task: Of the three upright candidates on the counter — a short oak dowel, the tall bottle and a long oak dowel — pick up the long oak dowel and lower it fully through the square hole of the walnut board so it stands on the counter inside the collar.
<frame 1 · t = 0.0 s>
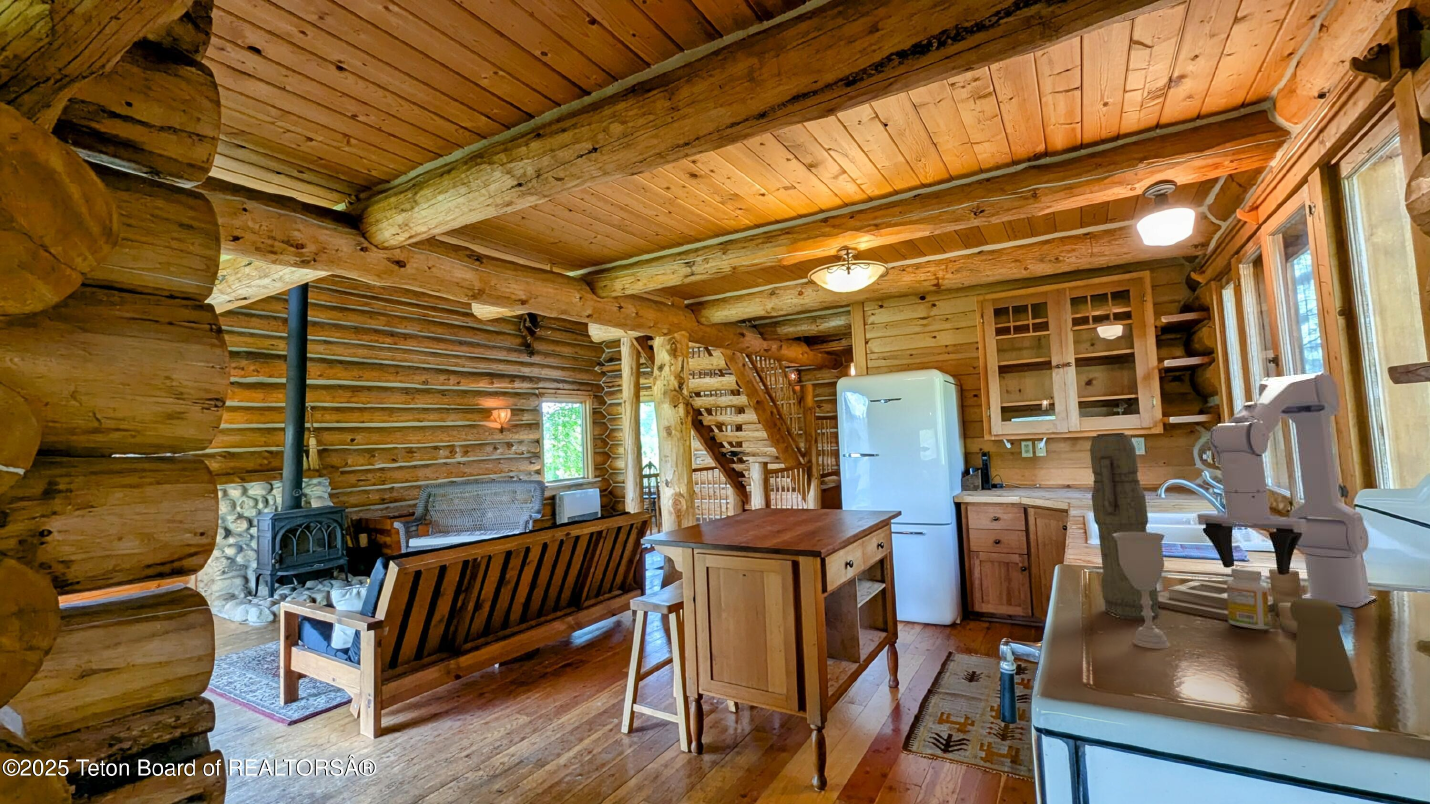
hand: (1255, 570, 103), 10 cm above the counter, tool pointing down, fingers open, 7 cm apart
olive tapered capped post: (1325, 682, 82), on the counter
collar board: (1212, 604, 117), on the counter
chalice: (1151, 644, 100), on the counter
supplement bottle: (1248, 627, 105), on the counter, touching collar board
short oak dowel: (1297, 629, 101), on the counter
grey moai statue: (1132, 614, 116), on the counter
long oak dowel: (1289, 615, 108), on the counter
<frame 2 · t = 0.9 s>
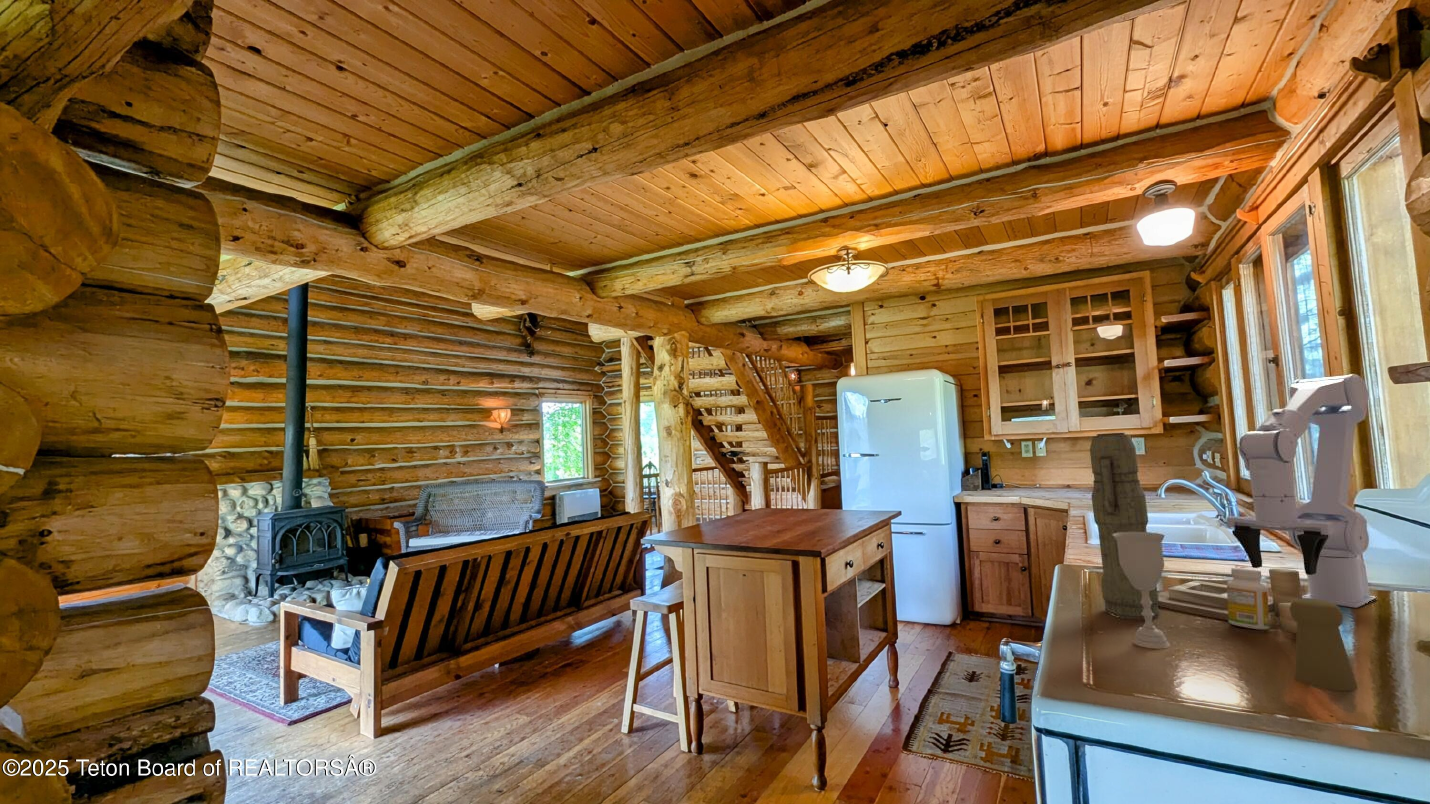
hand: (1283, 570, 109), 8 cm above the counter, tool pointing down, fingers open, 7 cm apart
nothing on the counter moved.
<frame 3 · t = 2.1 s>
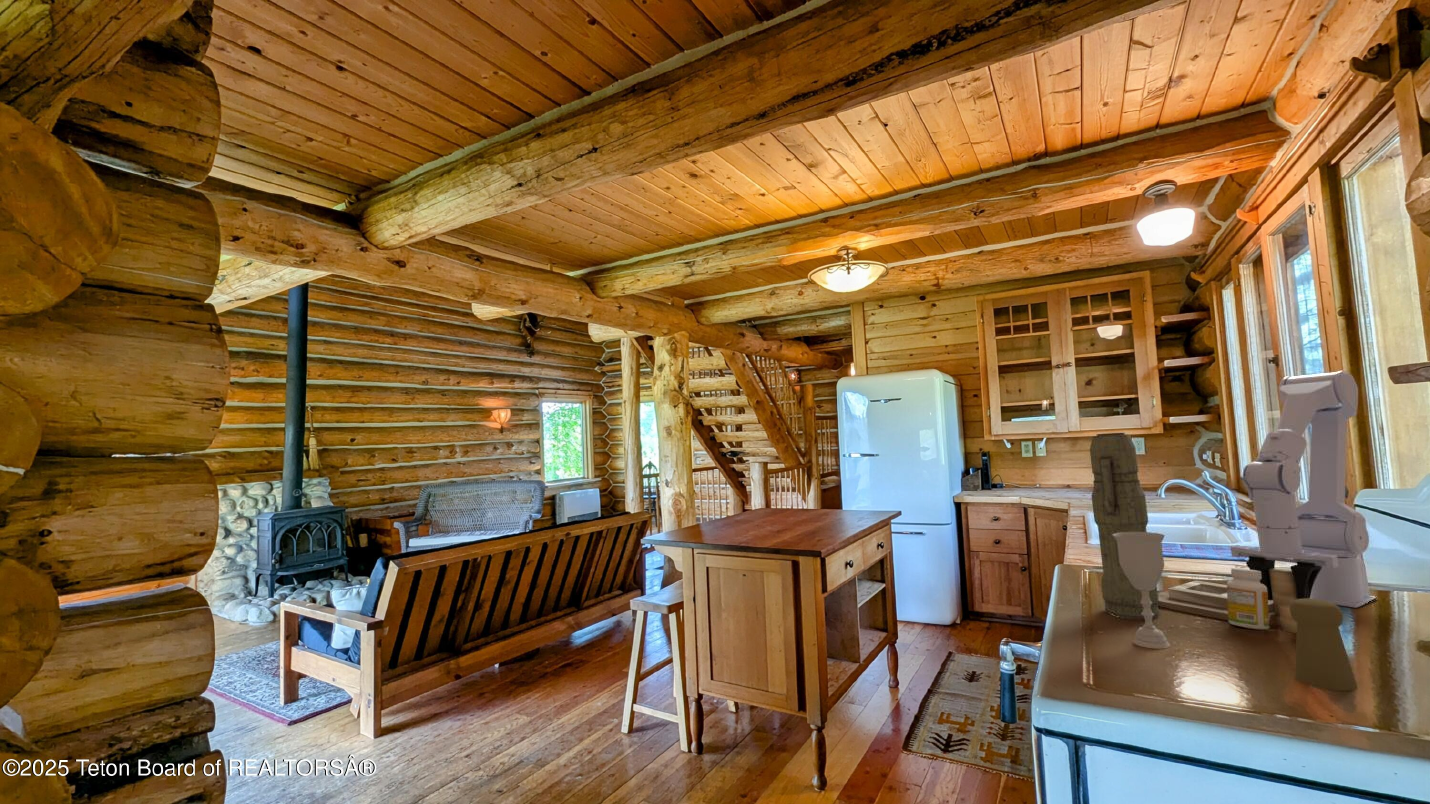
hand: (1287, 601, 109), 2 cm above the counter, tool pointing down, fingers closed on long oak dowel, 4 cm apart
long oak dowel: (1289, 615, 108), on the counter, touching gripper
everything else where it was.
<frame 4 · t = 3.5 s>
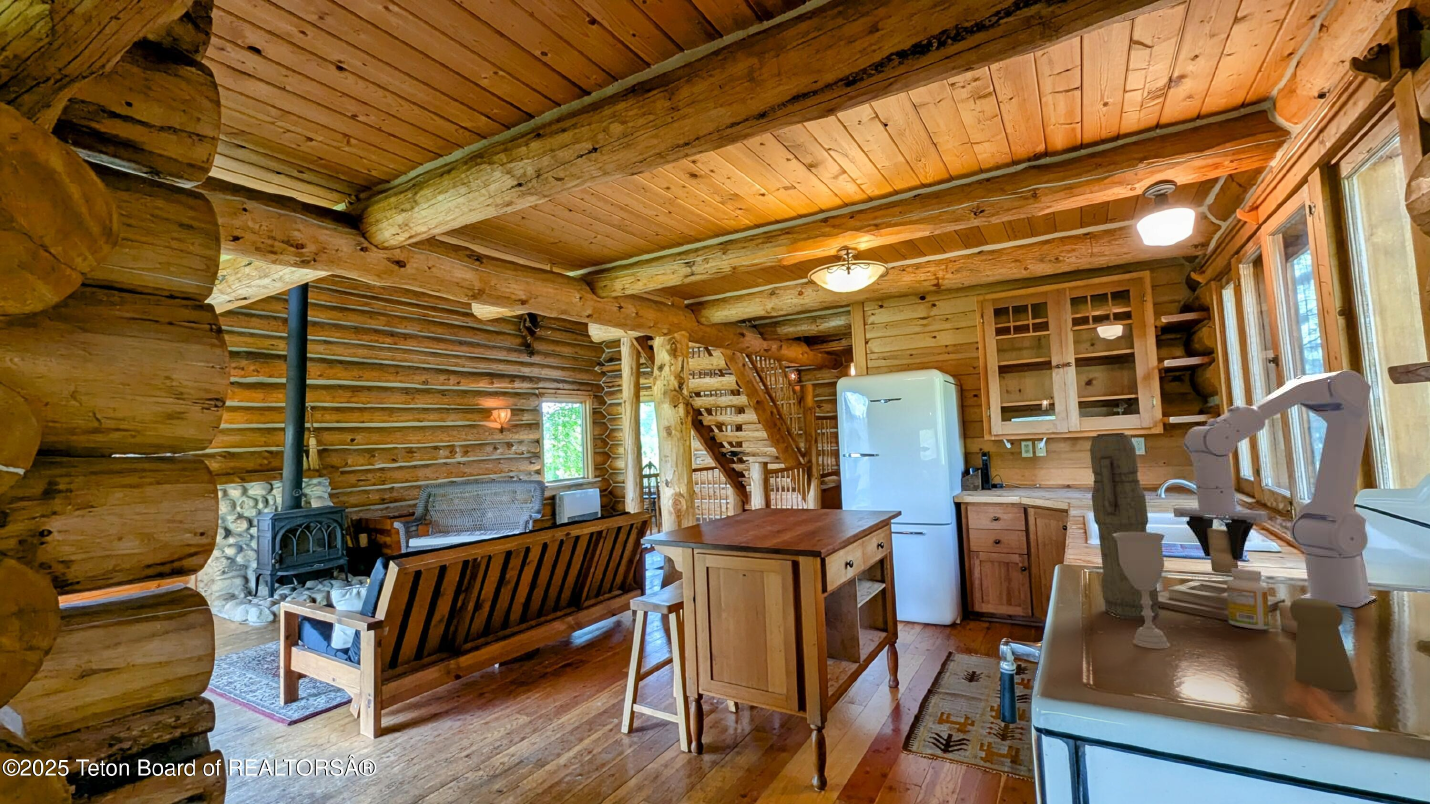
hand: (1223, 557, 116), 9 cm above the counter, tool pointing down, fingers closed on long oak dowel, 4 cm apart
long oak dowel: (1225, 571, 116), point 7 cm above the counter, touching gripper
everything else where it was.
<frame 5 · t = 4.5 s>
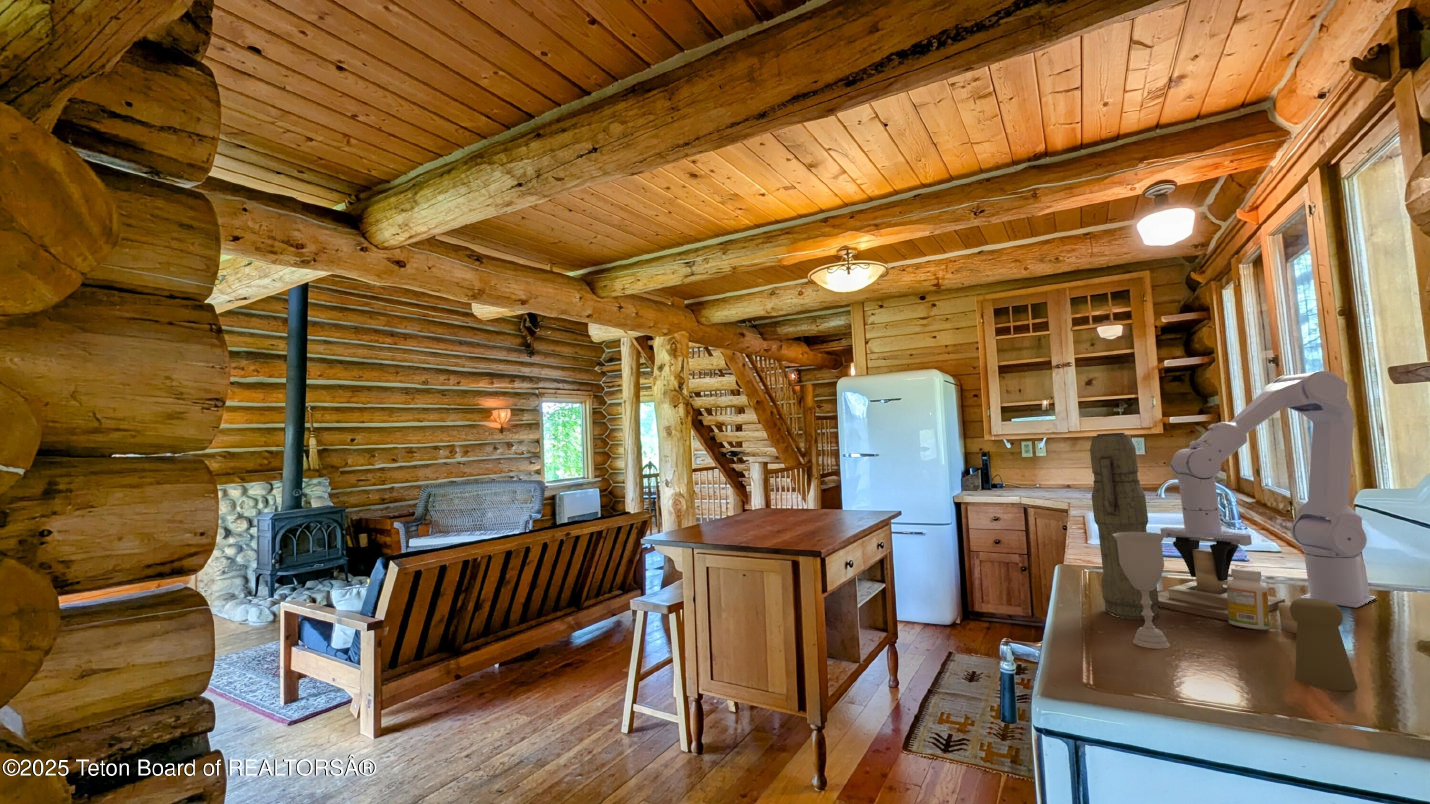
hand: (1209, 578, 118), 5 cm above the counter, tool pointing down, fingers closed on long oak dowel, 4 cm apart
long oak dowel: (1210, 591, 118), point 2 cm above the counter, touching gripper
everything else where it was.
when the fingers open (4 cm above the counter, at t = 5.2 s): long oak dowel drops 1 cm, resting in collar board.
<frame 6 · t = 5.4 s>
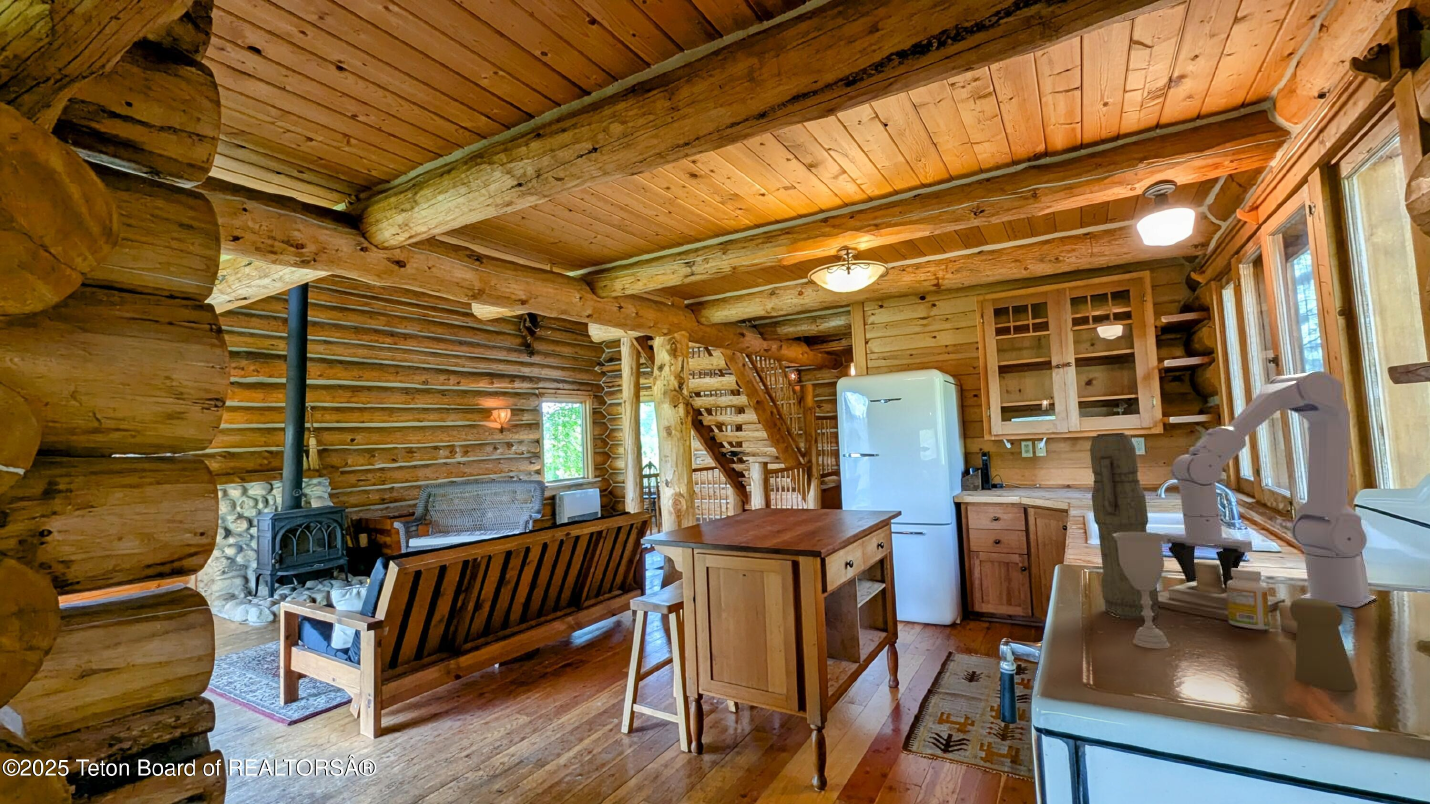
hand: (1209, 584, 118), 4 cm above the counter, tool pointing down, fingers open, 6 cm apart
long oak dowel: (1212, 604, 117), resting in collar board
everything else where it was.
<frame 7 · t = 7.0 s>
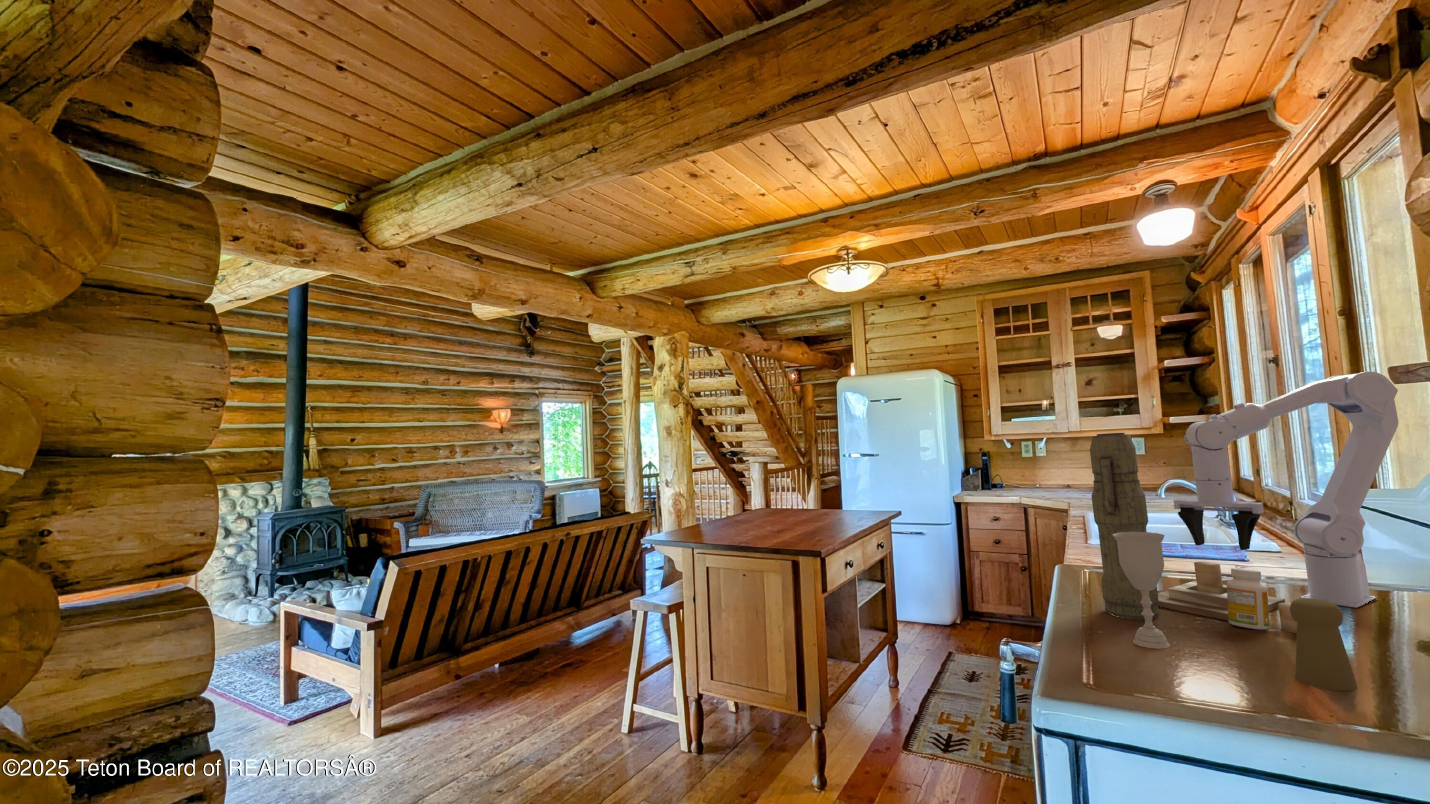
hand: (1221, 546, 121), 10 cm above the counter, tool pointing down, fingers open, 7 cm apart
nothing on the counter moved.
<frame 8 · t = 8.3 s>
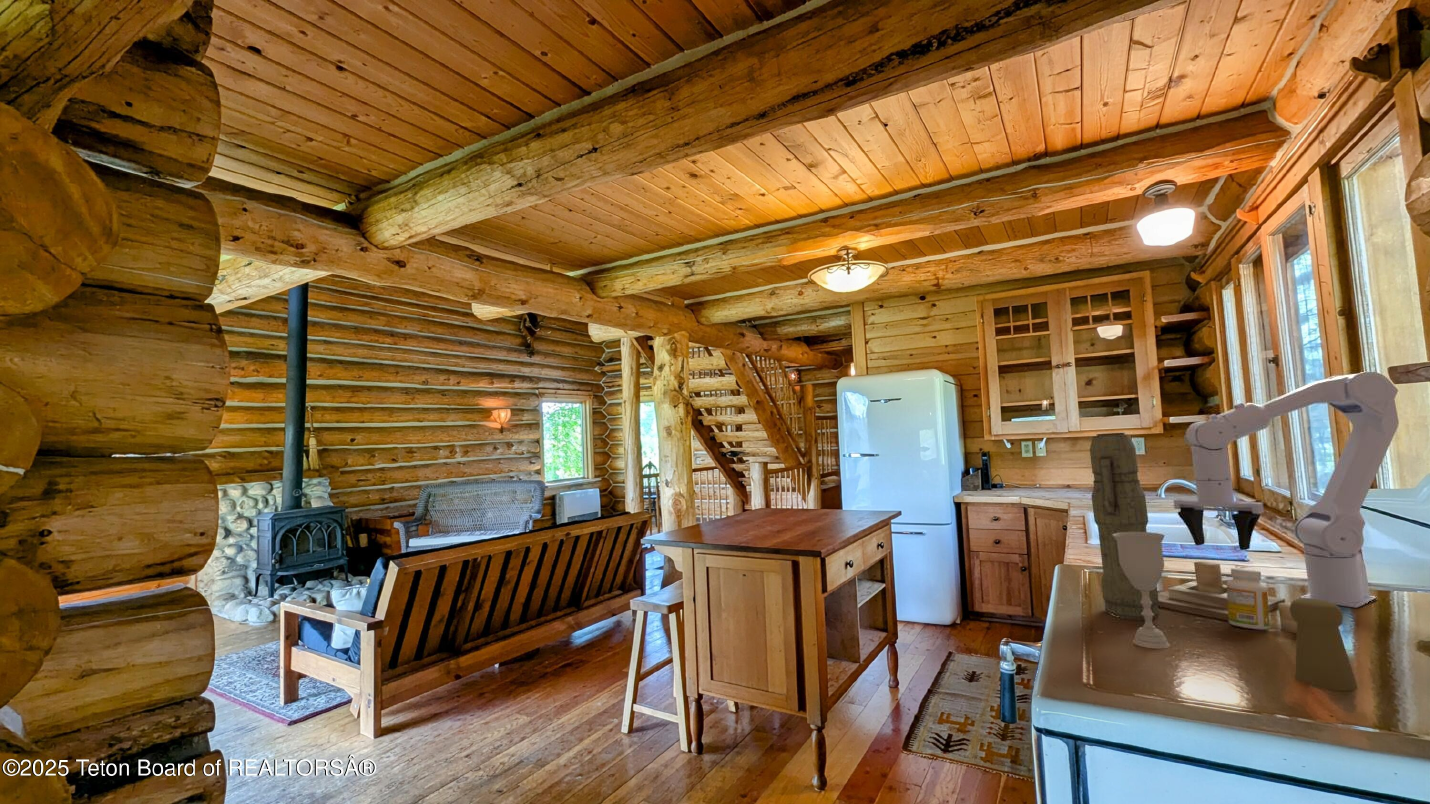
hand: (1221, 546, 121), 10 cm above the counter, tool pointing down, fingers open, 7 cm apart
nothing on the counter moved.
at the end: long oak dowel 0.1 cm off-centre on the collar board, point 0.0 cm above the collar board's base; long oak dowel tilted 0°; the gripper is holding nothing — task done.
